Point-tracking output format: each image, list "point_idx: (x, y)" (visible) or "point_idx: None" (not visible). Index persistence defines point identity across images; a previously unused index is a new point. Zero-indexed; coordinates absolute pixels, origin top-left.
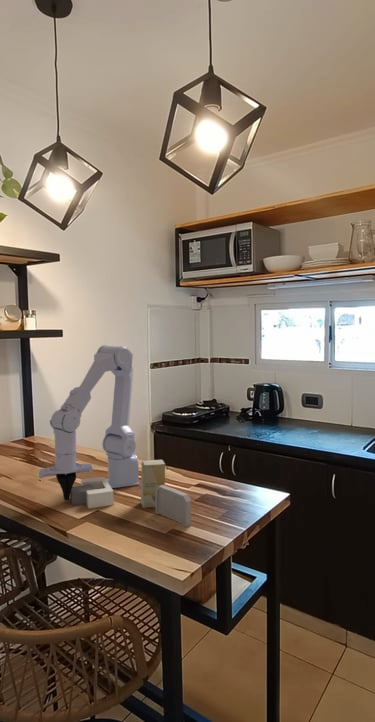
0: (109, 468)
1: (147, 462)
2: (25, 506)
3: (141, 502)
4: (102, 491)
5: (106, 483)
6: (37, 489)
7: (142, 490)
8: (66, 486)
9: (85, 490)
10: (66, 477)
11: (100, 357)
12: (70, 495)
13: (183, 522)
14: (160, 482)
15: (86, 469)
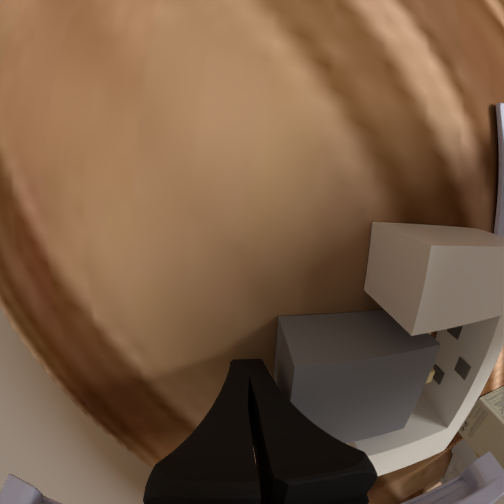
0: None
1: None
2: (35, 323)
3: (472, 414)
4: (413, 458)
5: (486, 372)
6: (83, 56)
7: (486, 450)
8: (257, 425)
9: (367, 430)
10: (265, 502)
11: None
12: (281, 344)
13: (446, 477)
14: None
15: (450, 502)
